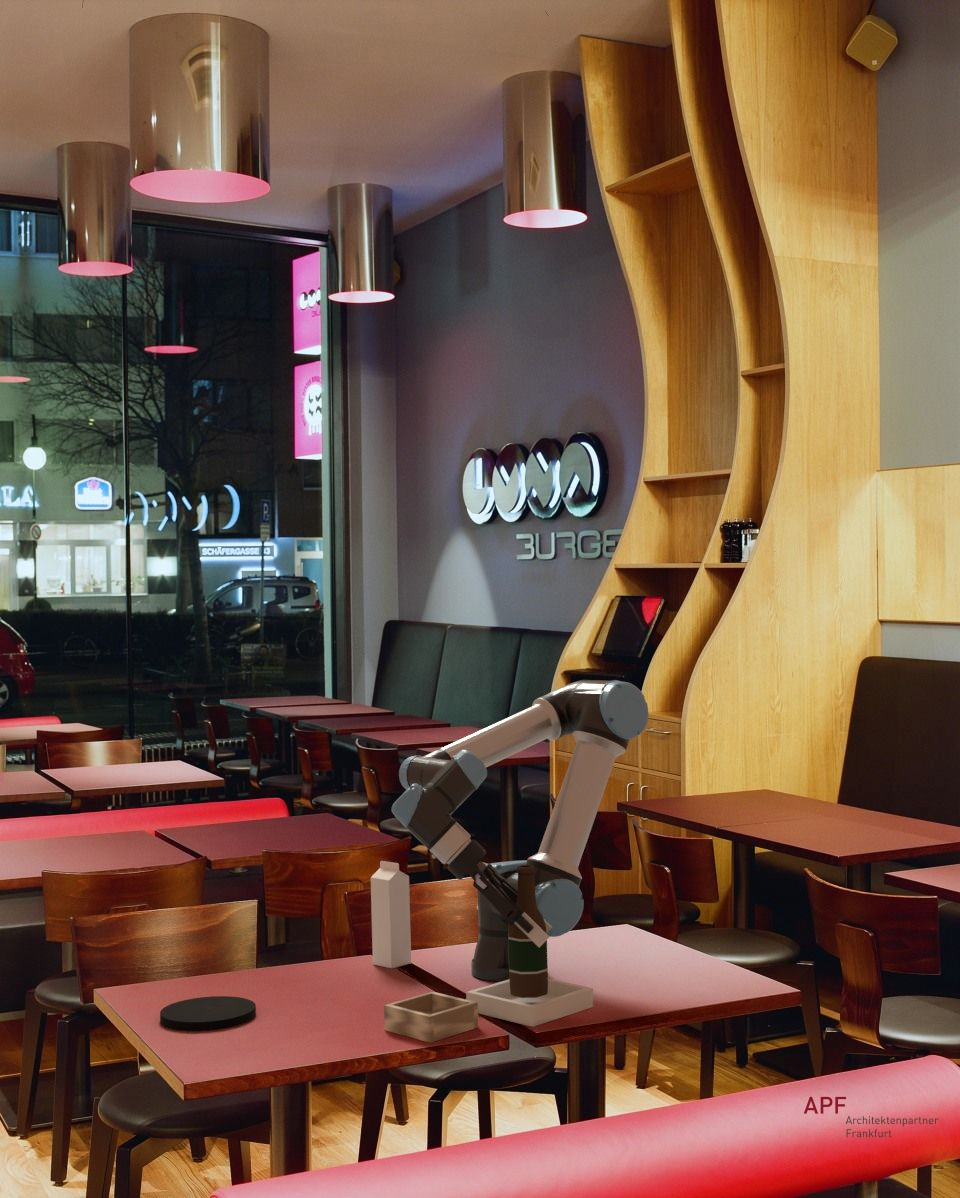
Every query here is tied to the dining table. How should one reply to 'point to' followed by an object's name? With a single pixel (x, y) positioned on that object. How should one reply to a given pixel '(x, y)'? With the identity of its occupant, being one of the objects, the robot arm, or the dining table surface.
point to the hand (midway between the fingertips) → (545, 937)
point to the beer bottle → (527, 944)
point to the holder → (431, 1016)
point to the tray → (531, 1002)
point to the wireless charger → (207, 1013)
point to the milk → (390, 916)
